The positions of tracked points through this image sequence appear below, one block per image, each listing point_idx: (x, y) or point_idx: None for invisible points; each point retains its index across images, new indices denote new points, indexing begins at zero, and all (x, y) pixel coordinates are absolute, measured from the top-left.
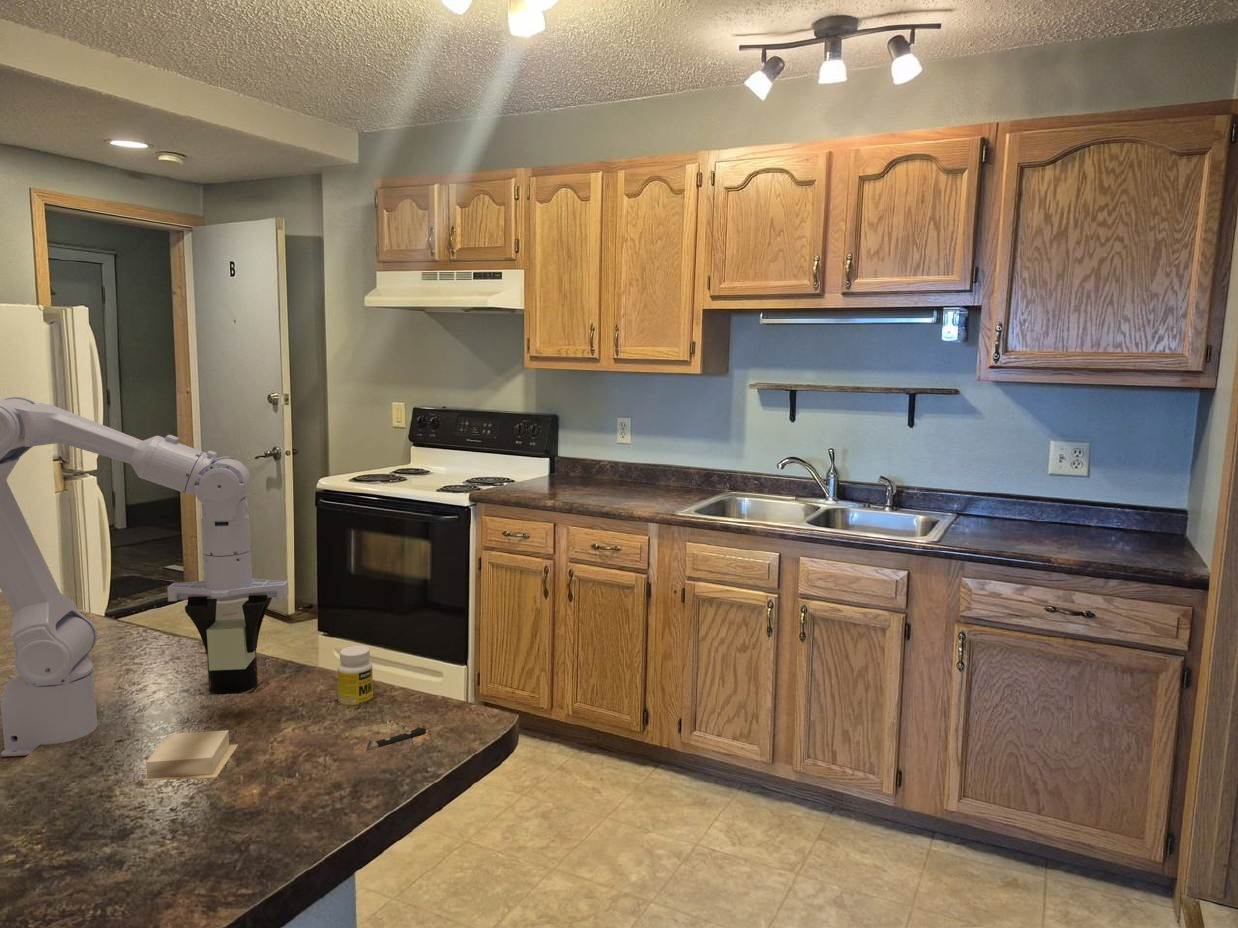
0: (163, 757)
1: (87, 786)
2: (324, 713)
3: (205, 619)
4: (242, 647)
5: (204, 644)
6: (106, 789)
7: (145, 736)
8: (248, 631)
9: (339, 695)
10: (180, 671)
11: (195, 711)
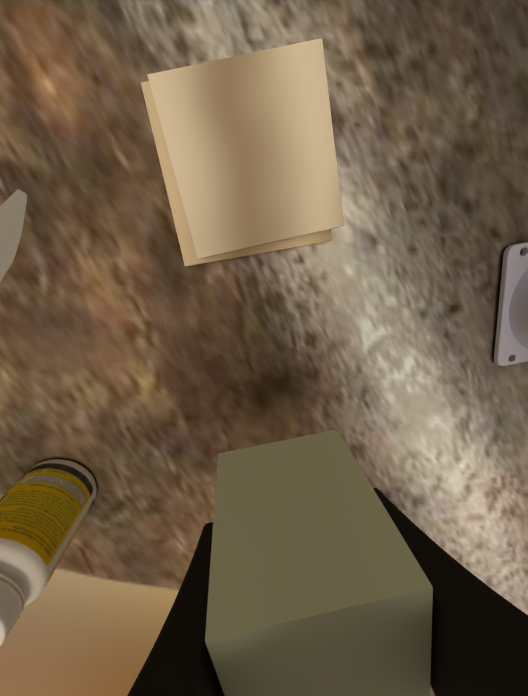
0: (287, 72)
1: (437, 100)
2: (111, 453)
3: (496, 686)
4: (221, 522)
5: (403, 516)
6: (393, 86)
7: (414, 329)
8: (192, 627)
9: (65, 490)
10: (455, 559)
11: (366, 432)
